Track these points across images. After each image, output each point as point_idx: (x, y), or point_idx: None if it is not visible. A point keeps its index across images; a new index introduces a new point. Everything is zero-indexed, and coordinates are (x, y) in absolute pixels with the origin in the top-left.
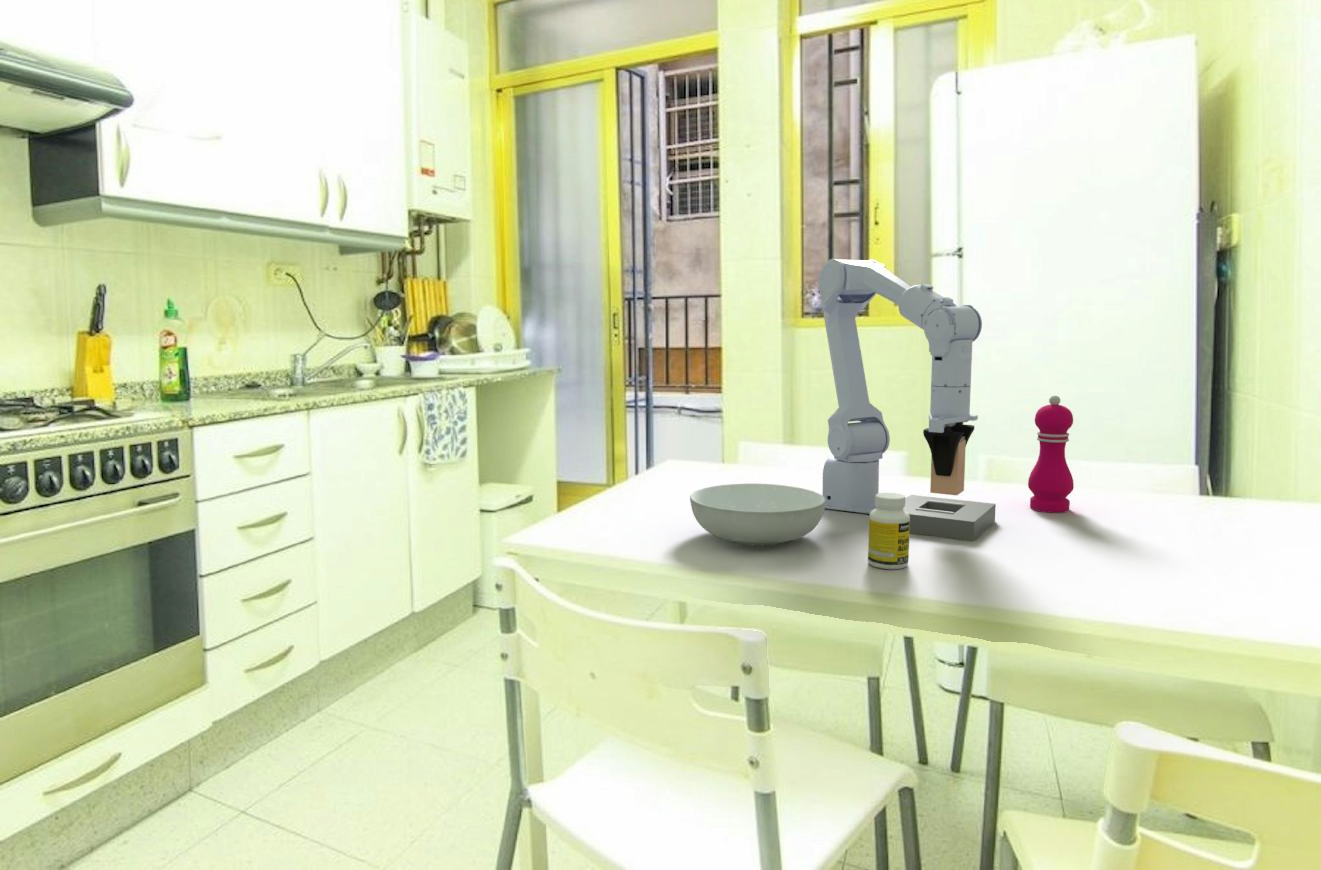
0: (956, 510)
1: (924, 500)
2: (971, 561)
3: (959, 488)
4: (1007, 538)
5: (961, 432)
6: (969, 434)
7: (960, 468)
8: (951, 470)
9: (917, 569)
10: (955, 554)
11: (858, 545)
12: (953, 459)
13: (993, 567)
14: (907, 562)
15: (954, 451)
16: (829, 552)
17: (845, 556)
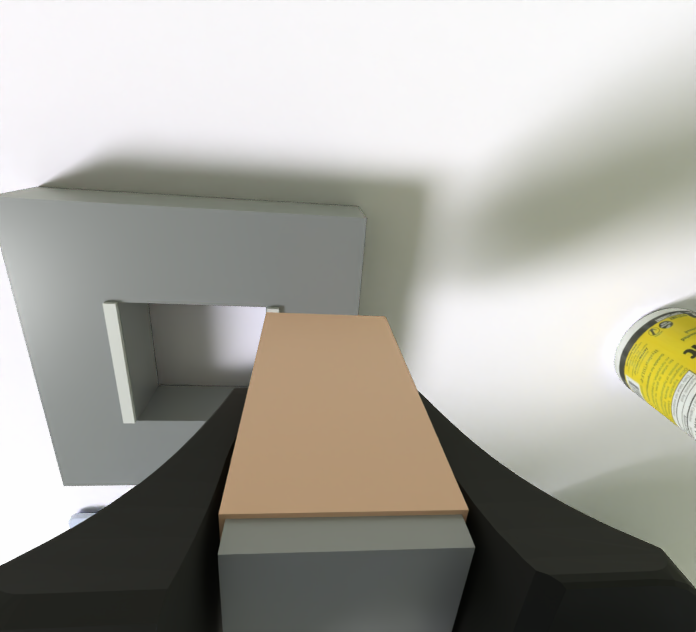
0: (131, 319)
1: (122, 432)
2: (585, 169)
3: (347, 325)
4: (265, 103)
5: (570, 602)
6: (153, 547)
7: (351, 376)
8: (429, 402)
9: (684, 281)
10: (525, 226)
11: (512, 443)
12: (457, 438)
13: (633, 96)
14: (681, 310)
15: (505, 473)
16: (585, 470)
17: (608, 436)
